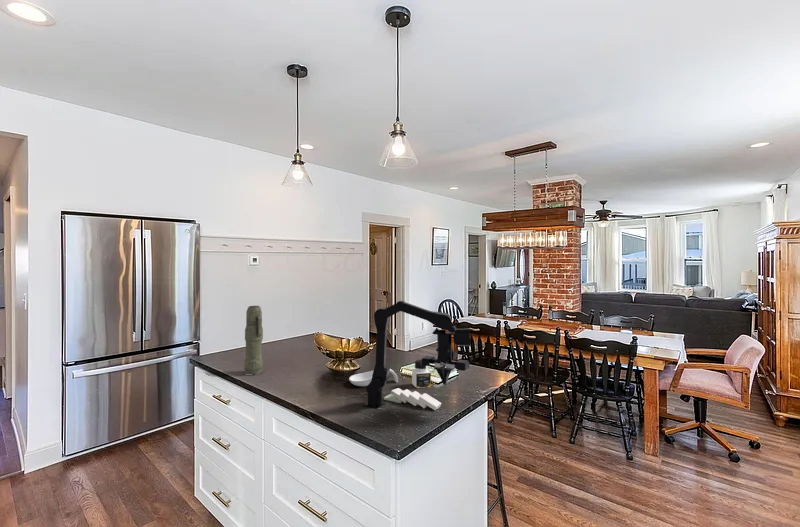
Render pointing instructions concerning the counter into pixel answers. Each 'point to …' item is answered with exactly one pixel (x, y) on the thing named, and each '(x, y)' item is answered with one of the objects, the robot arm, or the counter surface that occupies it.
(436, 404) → the domino
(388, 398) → the pale green domino
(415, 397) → the domino
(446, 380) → the robot arm
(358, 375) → the spoon rest
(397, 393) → the domino
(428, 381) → the medicine bottle
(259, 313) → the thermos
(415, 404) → the domino
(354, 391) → the counter surface
